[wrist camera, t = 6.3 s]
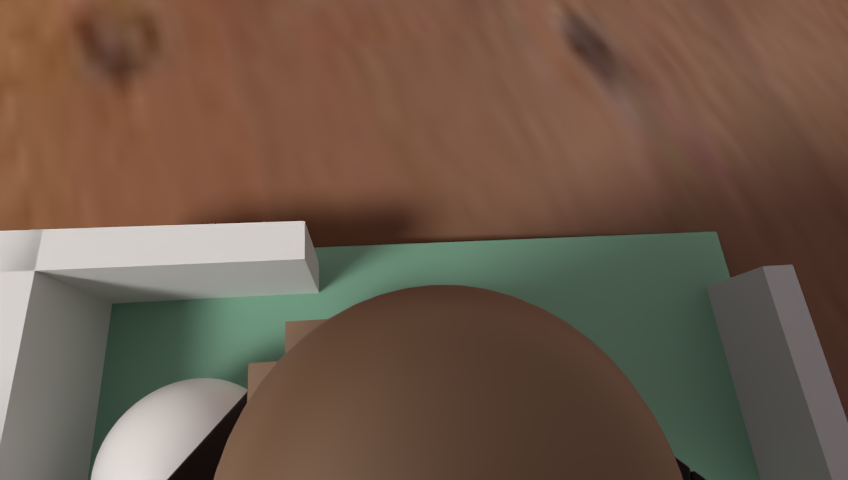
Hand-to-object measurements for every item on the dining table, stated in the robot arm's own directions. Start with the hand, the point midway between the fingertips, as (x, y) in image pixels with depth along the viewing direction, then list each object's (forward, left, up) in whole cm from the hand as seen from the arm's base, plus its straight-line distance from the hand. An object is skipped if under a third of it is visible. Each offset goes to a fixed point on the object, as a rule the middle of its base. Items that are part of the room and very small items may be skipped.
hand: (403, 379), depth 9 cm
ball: (-4, +3, -4) cm, 6 cm away
